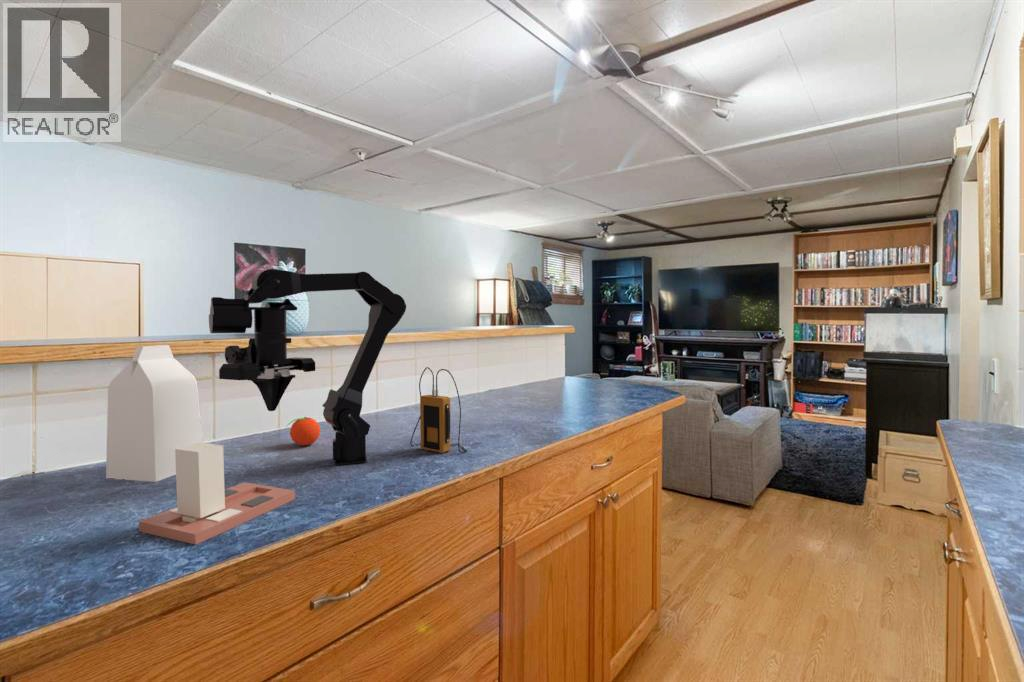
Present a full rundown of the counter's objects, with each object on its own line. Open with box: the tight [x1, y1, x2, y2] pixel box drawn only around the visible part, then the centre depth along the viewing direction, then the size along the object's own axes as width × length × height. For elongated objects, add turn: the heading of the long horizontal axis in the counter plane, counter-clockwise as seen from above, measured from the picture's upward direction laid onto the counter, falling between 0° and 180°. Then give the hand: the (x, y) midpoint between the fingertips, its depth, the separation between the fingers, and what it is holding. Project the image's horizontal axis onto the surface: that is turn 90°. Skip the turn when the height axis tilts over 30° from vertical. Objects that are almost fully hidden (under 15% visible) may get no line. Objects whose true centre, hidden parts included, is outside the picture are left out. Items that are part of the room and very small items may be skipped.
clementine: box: [286, 416, 321, 447], centre depth 119 cm, size 8×7×7 cm
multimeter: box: [410, 366, 468, 454], centre depth 117 cm, size 15×10×20 cm
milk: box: [105, 344, 204, 483], centre depth 99 cm, size 12×12×26 cm
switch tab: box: [175, 442, 225, 523], centre depth 74 cm, size 4×5×11 cm
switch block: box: [138, 481, 296, 546], centre depth 78 cm, size 18×12×2 cm, turn 159°
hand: (271, 410), depth 96 cm, fingers closed
